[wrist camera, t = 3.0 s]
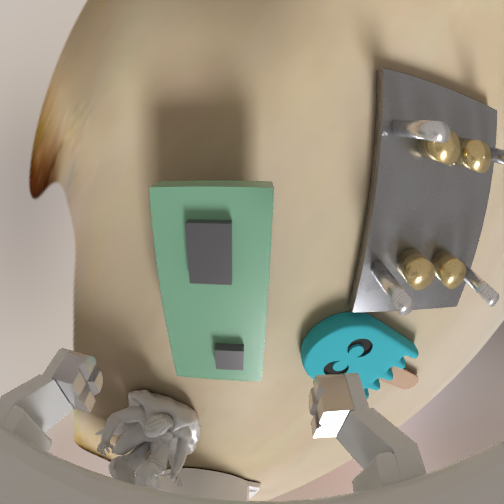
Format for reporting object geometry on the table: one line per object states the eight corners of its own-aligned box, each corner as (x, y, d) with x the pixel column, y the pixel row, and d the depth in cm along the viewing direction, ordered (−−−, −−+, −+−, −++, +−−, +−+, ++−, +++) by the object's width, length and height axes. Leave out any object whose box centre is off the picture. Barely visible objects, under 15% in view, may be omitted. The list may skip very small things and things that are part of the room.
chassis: (450, 299, 20) (483, 339, 15) (348, 304, 20) (371, 356, 15) (488, 110, 13) (540, 115, 8) (376, 70, 13) (423, 53, 8)
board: (261, 364, 18) (261, 388, 16) (181, 360, 18) (175, 382, 16) (271, 181, 13) (274, 191, 11) (159, 181, 13) (144, 190, 11)
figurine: (111, 356, 23) (40, 523, 6) (234, 405, 25) (223, 576, 9) (99, 426, 30) (64, 528, 13) (183, 458, 32) (167, 563, 15)
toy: (392, 410, 24) (283, 370, 21) (387, 397, 26) (282, 352, 22) (443, 368, 21) (348, 308, 18) (436, 356, 23) (341, 292, 20)
